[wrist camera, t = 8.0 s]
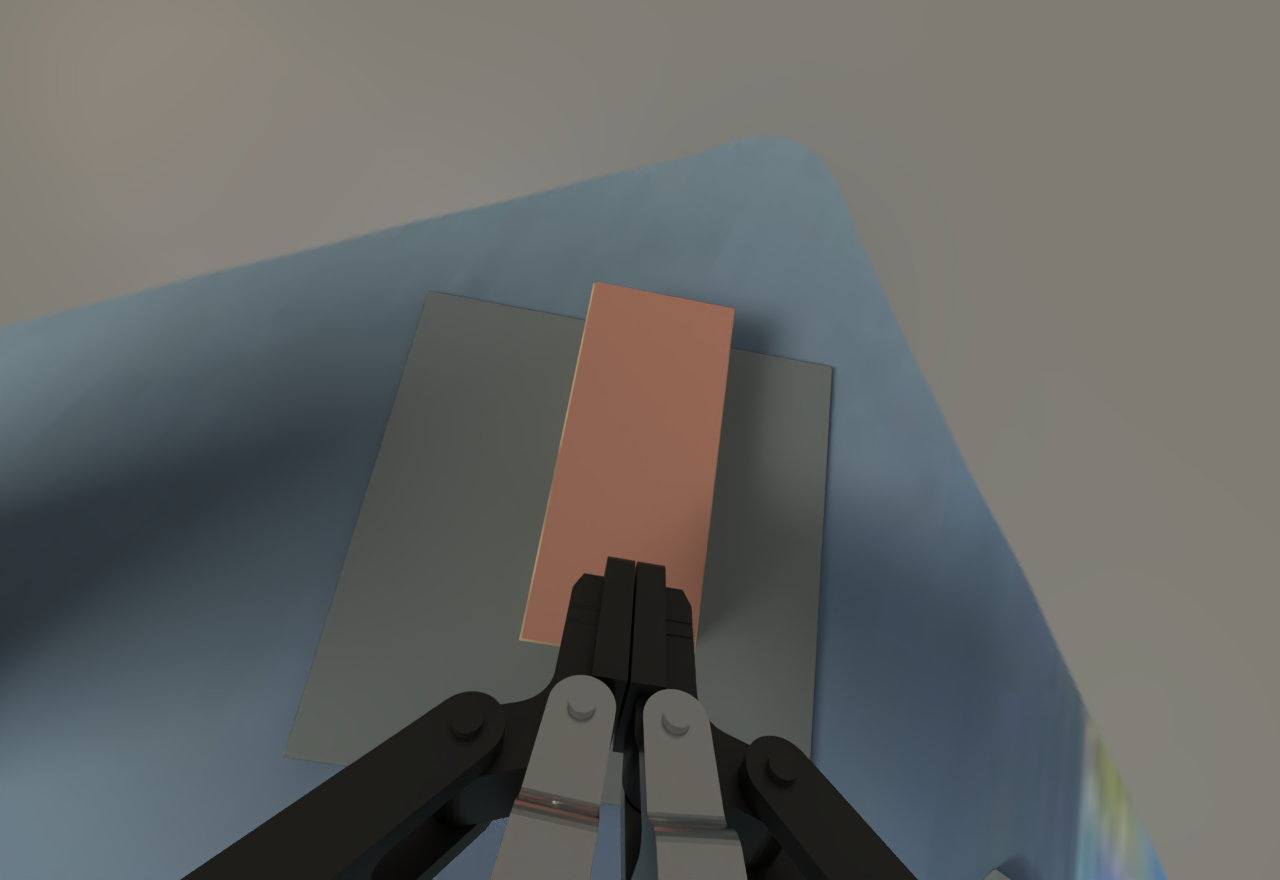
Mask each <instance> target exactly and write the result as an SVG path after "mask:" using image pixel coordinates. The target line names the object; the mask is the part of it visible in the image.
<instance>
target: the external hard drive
mask: <svg viewBox="0 0 1280 880" xmlns="http://www.w3.org/2000/svg"><path fill="white" fill-rule="evenodd" d="M983 880H1011V879H1010V878H1008V877H1006V876H1005V875H1004V874H1002V873H1001V872H999V871H998V870H997V869H993V870H992V871H991V872H990V873H989V874H988V875H987V876H986V877H985V878H984V879H983Z"/></svg>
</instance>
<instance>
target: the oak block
mask: <svg viewBox="0 0 1280 880" xmlns="http://www.w3.org/2000/svg"><path fill="white" fill-rule="evenodd" d="M734 316H735V310H734V308H729V307H724V306H719V305H714V304H708V303H703V302H698V301H693V300H688V299H683V298H677V297H672V296H667V295H662V294H657V293H652V292H646V291H641V290H636V289H631V288H626V287H621V286H615V285H610V284H605V283H600V282H595V283H593V288H592V293H591V297H590V302H589V307H588V312H587V317H586V321H585V326H584V331H583V336H582V340H581V345H580V350H579V355H578V360H577V364H576V369H575V374H574V379H573V383H572V388H571V393H570V398H569V403H568V407H567V412H566V417H565V422H564V427H563V431H562V436H561V441H560V446H559V450H558V455H557V460H556V465H555V470H554V474H553V479H552V484H551V489H550V494H549V498H548V503H547V508H546V513H545V517H544V522H543V527H542V532H541V537H540V541H539V546H538V551H537V556H536V561H535V565H534V570H533V575H532V580H531V584H530V589H529V594H528V599H527V604H526V608H525V613H524V618H523V623H522V628H521V632H520V637H519V640H521V641H527V642H533V643H540V644H546V645H552V646H559V647H560V644H561V640H562V635H563V630H564V625H565V621H566V616H567V611H568V607H569V602H570V597H571V592H572V587H573V586H574V584H575V583H576V582H577V581H578V580H579V578H580V577H581V576H582V575H583V574H584V573H586V574H592V575H598V576H604V572H605V567H606V562H607V557H608V556H611V557H617V558H622V559H628V560H634V561H635V567H636V563H637V561H639V562H645V563H651V564H657V565H663V566H665V567H666V587H669V588H675V589H681V590H683V591H684V593H685V595H686V597H687V599H688V601H689V602H690V604H691V606H692V621H693V624H692V627H693V637H694V638H693V642H694V653H695V647H696V639H697V630H698V622H699V613H700V605H701V596H702V588H703V579H704V571H705V562H706V554H707V545H708V537H709V528H710V520H711V511H712V503H713V494H714V486H715V477H716V469H717V460H718V452H719V443H720V435H721V426H722V418H723V409H724V401H725V392H726V384H727V375H728V367H729V358H730V350H731V341H732V333H733V324H734Z"/></svg>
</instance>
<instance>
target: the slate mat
mask: <svg viewBox="0 0 1280 880" xmlns="http://www.w3.org/2000/svg"><path fill="white" fill-rule="evenodd" d="M585 321H586V320H581V319H576V318H570V317H565V316H560V315H555V314H549V313H544V312H539V311H534V310H528V309H523V308H518V307H512V306H507V305H502V304H497V303H491V302H486V301H481V300H476V299H470V298H465V297H460V296H454V295H449V294H444V293H439V292H433V291H428V294H427V297H426V300H425V303H424V306H423V310H422V313H421V316H420V319H419V323H418V326H417V329H416V332H415V335H414V339H413V342H412V345H411V348H410V351H409V355H408V358H407V361H406V364H405V367H404V371H403V374H402V377H401V380H400V383H399V387H398V390H397V393H396V396H395V400H394V403H393V406H392V409H391V412H390V416H389V419H388V422H387V425H386V428H385V432H384V435H383V438H382V441H381V444H380V448H379V451H378V454H377V457H376V461H375V464H374V467H373V470H372V473H371V477H370V480H369V483H368V486H367V489H366V493H365V496H364V499H363V502H362V505H361V509H360V512H359V515H358V518H357V522H356V525H355V528H354V531H353V534H352V538H351V541H350V544H349V547H348V550H347V554H346V557H345V560H344V563H343V566H342V570H341V573H340V576H339V579H338V582H337V586H336V589H335V592H334V595H333V599H332V602H331V605H330V608H329V611H328V615H327V618H326V621H325V624H324V627H323V631H322V634H321V637H320V640H319V643H318V647H317V650H316V653H315V656H314V660H313V663H312V666H311V669H310V672H309V676H308V679H307V682H306V685H305V688H304V692H303V695H302V698H301V701H300V704H299V708H298V711H297V714H296V717H295V720H294V724H293V727H292V730H291V733H290V737H289V740H288V743H287V746H286V749H285V753H284V756H283V757H286V758H293V759H300V760H307V761H314V762H321V763H328V764H335V765H341V766H349V765H350V764H352V763H353V762H355V761H356V760H358V759H359V758H361V757H362V756H364V755H365V754H367V753H368V752H369V751H371V750H372V749H374V748H375V747H377V746H378V745H380V744H381V743H383V742H384V741H386V740H387V739H389V738H390V737H392V736H393V735H395V734H396V733H397V732H399V731H400V730H402V729H403V728H405V727H406V726H408V725H409V724H411V723H412V722H414V721H415V720H417V719H418V718H420V717H421V716H423V715H424V714H425V713H427V712H428V711H430V710H431V709H433V708H434V707H436V706H437V705H439V704H440V703H442V702H443V701H445V700H446V699H448V698H450V697H451V696H453V695H456V694H458V693H462V692H468V691H478V692H483V693H486V694H488V695H490V696H492V697H494V698H495V699H496V700H497V701H498V702H499V703H500V704H506V703H512V702H519V701H523V700H527V699H529V698H532V697H534V696H536V695H537V694H539V693H540V692H542V691H543V690H544V689H545V688H546V687H547V686H548V684H549V683H550V682H551V680H552V678H553V676H554V672H555V668H556V663H557V659H558V654H559V649H560V647H559V646H552V645H546V644H540V643H533V642H527V641H521V640H519V637H520V632H521V628H522V623H523V618H524V613H525V608H526V604H527V599H528V594H529V589H530V584H531V580H532V575H533V570H534V565H535V561H536V556H537V551H538V546H539V541H540V537H541V532H542V527H543V522H544V517H545V513H546V508H547V503H548V498H549V494H550V489H551V484H552V479H553V474H554V470H555V465H556V460H557V455H558V450H559V446H560V441H561V436H562V431H563V427H564V422H565V417H566V412H567V407H568V403H569V398H570V393H571V388H572V383H573V379H574V374H575V369H576V364H577V360H578V355H579V350H580V345H581V340H582V336H583V331H584V326H585ZM831 376H832V367H829V366H823V365H818V364H813V363H808V362H802V361H797V360H792V359H787V358H781V357H776V356H771V355H765V354H760V353H755V352H750V351H744V350H739V349H734V348H731V350H730V358H729V367H728V375H727V384H726V392H725V401H724V409H723V418H722V426H721V435H720V443H719V452H718V460H717V469H716V477H715V486H714V494H713V503H712V511H711V520H710V528H709V537H708V545H707V554H706V562H705V571H704V579H703V588H702V596H701V605H700V613H699V622H698V630H697V639H696V647H695V669H696V685H697V697H698V701H699V702H700V703H701V705H702V706H703V707H704V709H705V711H706V713H707V715H708V718H709V720H710V722H711V723H713V724H714V725H715V726H716V727H717V728H719V729H720V730H721V731H723V732H725V733H727V734H729V735H731V736H733V737H735V738H737V739H739V740H741V741H743V742H745V743H747V744H749V745H750V744H751V743H752V742H753V741H754V740H755V739H757V738H759V737H762V736H769V735H771V736H777V737H781V738H784V739H786V740H788V741H790V742H791V743H793V744H794V745H796V746H797V747H798V748H799V749H800V750H801V751H802V752H803V753H804V754H805V755H806V756H807V757H808V758H809V760H810V754H811V736H812V718H813V700H814V682H815V664H816V646H817V628H818V610H819V592H820V574H821V556H822V538H823V520H824V502H825V484H826V466H827V448H828V430H829V412H830V394H831ZM613 739H614V735H613ZM613 739H612V743H611V747H610V750H609V755H608V761H607V767H606V773H605V778H604V784H603V790H602V796H601V802H600V803H605V804H612V805H619V806H621V786H622V766H623V753H618V752H612V750H613Z"/></svg>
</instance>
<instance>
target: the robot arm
mask: <svg viewBox="0 0 1280 880" xmlns="http://www.w3.org/2000/svg"><path fill="white" fill-rule="evenodd" d="M692 624H693V621H692V606H691V604H690V602H689V601H688V599H687V597H686V595H685V593H684V591H683V590H681V589H675V588H669V587H666V567H665V566H663V565H657V564H651V563H645V562H639V561H637V563H636V567H635V561H634V560H628V559H622V558H617V557H611V556H608V557H607V562H606V567H605V572H604V576H598V575H592V574H586V573H584V574H583V575H582V576H581V577H580V578H579V580H578V581H577V582H576V583H575V584H574V586H573V587H572V592H571V597H570V602H569V607H568V611H567V616H566V621H565V625H564V630H563V635H562V640H561V644H560V649H559V654H558V659H557V663H556V668H555V672H554V676H553V678H552V680H551V682H550V683H549V684H548V686H547V687H546V688H545V689H544V690H543V691H542V692H540V693H539V694H537V695H536V696H534V697H532V698H529V699H527V700H523V701H519V702H512V703H506V704H500V703H499V702H498V701H497V700H496V699H495V698H494V697H492V696H490V695H488V694H486V693H483V692H478V691H468V692H462V693H458V694H456V695H453V696H451V697H450V698H448V699H446V700H445V701H443V702H442V703H440V704H439V705H437V706H436V707H434V708H433V709H431V710H430V711H428V712H427V713H425V714H424V715H423V716H421V717H420V718H418V719H417V720H415V721H414V722H412V723H411V724H409V725H408V726H406V727H405V728H403V729H402V730H400V731H399V732H397V733H396V734H395V735H393V736H392V737H390V738H389V739H387V740H386V741H384V742H383V743H381V744H380V745H378V746H377V747H375V748H374V749H372V750H371V751H369V752H368V753H367V754H365V755H364V756H362V757H361V758H359V759H358V760H356V761H355V762H353V763H352V764H350V765H349V766H347V767H346V768H344V769H343V770H341V771H340V772H338V773H337V774H336V775H334V776H333V777H331V778H330V779H328V780H327V781H325V782H324V783H322V784H321V785H319V786H318V787H316V788H315V789H313V790H312V791H310V792H309V793H308V794H306V795H305V796H303V797H302V798H300V799H299V800H297V801H296V802H294V803H293V804H291V805H290V806H288V807H287V808H285V809H284V810H282V811H281V812H279V813H278V814H277V815H275V816H274V817H272V818H271V819H269V820H268V821H266V822H265V823H263V824H262V825H260V826H259V827H257V828H256V829H254V830H253V831H251V832H250V833H249V834H247V835H246V836H244V837H243V838H241V839H240V840H238V841H237V842H235V843H234V844H232V845H231V846H229V847H228V848H226V849H225V850H223V851H222V852H220V853H219V854H218V855H216V856H215V857H213V858H212V859H210V860H209V861H207V862H206V863H204V864H203V865H201V866H200V867H198V868H197V869H195V870H194V871H192V872H191V873H190V874H188V875H187V876H185V877H184V878H182V879H181V880H432V879H433V878H434V877H435V876H436V875H437V874H438V873H439V872H440V871H441V870H442V869H443V868H445V867H446V866H447V865H448V864H449V863H450V862H451V861H452V860H453V859H454V858H455V857H456V856H457V855H459V854H460V853H461V852H462V851H463V850H464V849H465V848H466V847H467V846H468V845H469V844H470V843H471V842H473V841H474V840H475V839H476V838H477V837H478V836H479V835H480V834H481V833H482V832H483V831H484V830H485V829H486V828H487V827H488V826H489V824H490V823H491V821H492V820H496V819H500V818H505V817H509V819H508V823H507V826H506V829H505V833H504V836H503V839H502V842H501V846H500V849H499V852H498V855H497V859H496V862H495V865H494V869H493V872H492V875H491V878H490V880H590V874H591V868H592V862H593V856H594V850H595V844H596V838H597V831H598V824H599V809H600V802H601V796H602V790H603V784H604V778H605V773H606V767H607V761H608V755H609V750H610V747H611V743H612V739H613V735H614V739H613V750H612V752H618V753H623V766H622V786H621V880H917V878H916V877H915V876H914V875H913V874H912V873H911V872H910V871H909V870H908V868H907V867H906V866H905V865H904V864H903V863H902V862H901V861H900V860H899V858H898V857H897V856H896V855H895V854H894V853H893V852H892V851H891V850H890V848H889V847H888V846H887V845H886V844H885V843H884V842H883V841H882V840H881V838H880V837H879V836H878V835H877V834H876V833H875V832H874V831H873V830H872V828H871V827H870V826H869V825H868V824H867V823H866V822H865V821H864V820H863V818H862V817H861V816H860V815H859V814H858V813H857V812H856V811H855V810H854V808H853V807H852V806H851V805H850V804H849V803H848V802H847V801H846V800H845V798H844V797H843V796H842V795H841V794H840V793H839V792H838V791H837V790H836V788H835V787H834V786H833V785H832V784H831V783H830V782H829V781H828V780H827V778H826V777H825V776H824V775H823V774H822V773H821V772H820V771H819V770H818V768H817V767H816V766H815V765H814V764H813V763H812V762H811V761H810V760H809V758H808V757H807V756H806V755H805V754H804V753H803V752H802V751H801V750H800V749H799V748H798V747H797V746H796V745H794V744H793V743H791V742H790V741H788V740H786V739H784V738H781V737H777V736H771V735H769V736H762V737H759V738H757V739H755V740H754V741H753V742H752V743H751V744H750V745H749V744H747V743H745V742H743V741H741V740H739V739H737V738H735V737H733V736H731V735H729V734H727V733H725V732H723V731H721V730H720V729H719V728H717V727H716V726H715V725H714V724H713V723H711V722H710V720H709V718H708V715H707V713H706V711H705V709H704V707H703V706H702V705H701V703H700V702H699V701H698V697H697V685H696V669H695V653H694V642H693V638H694V637H693V627H692Z"/></svg>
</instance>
